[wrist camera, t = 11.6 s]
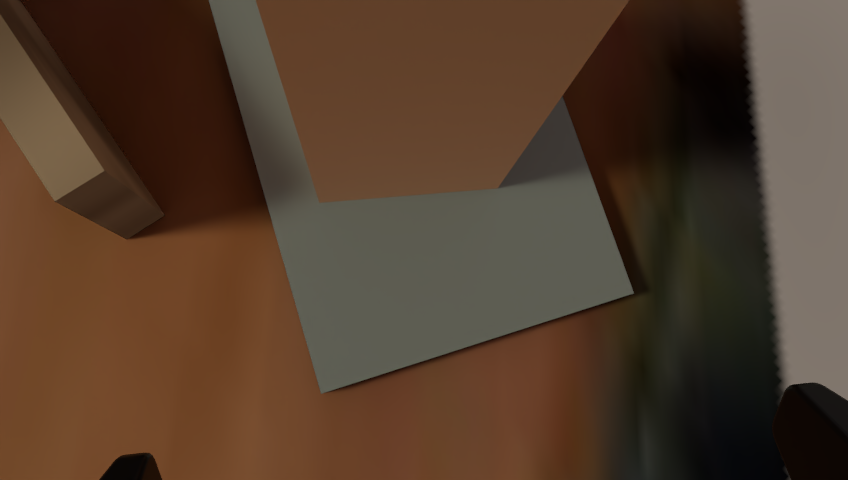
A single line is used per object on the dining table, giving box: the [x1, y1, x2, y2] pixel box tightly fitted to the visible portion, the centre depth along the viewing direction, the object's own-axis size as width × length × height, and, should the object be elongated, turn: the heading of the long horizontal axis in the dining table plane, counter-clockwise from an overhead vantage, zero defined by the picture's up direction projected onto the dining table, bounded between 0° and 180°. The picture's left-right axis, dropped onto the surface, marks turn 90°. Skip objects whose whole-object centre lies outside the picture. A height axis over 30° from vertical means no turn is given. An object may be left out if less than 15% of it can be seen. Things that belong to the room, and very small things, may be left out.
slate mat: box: [209, 0, 634, 394], centre depth 20 cm, size 14×9×1 cm, turn 18°
